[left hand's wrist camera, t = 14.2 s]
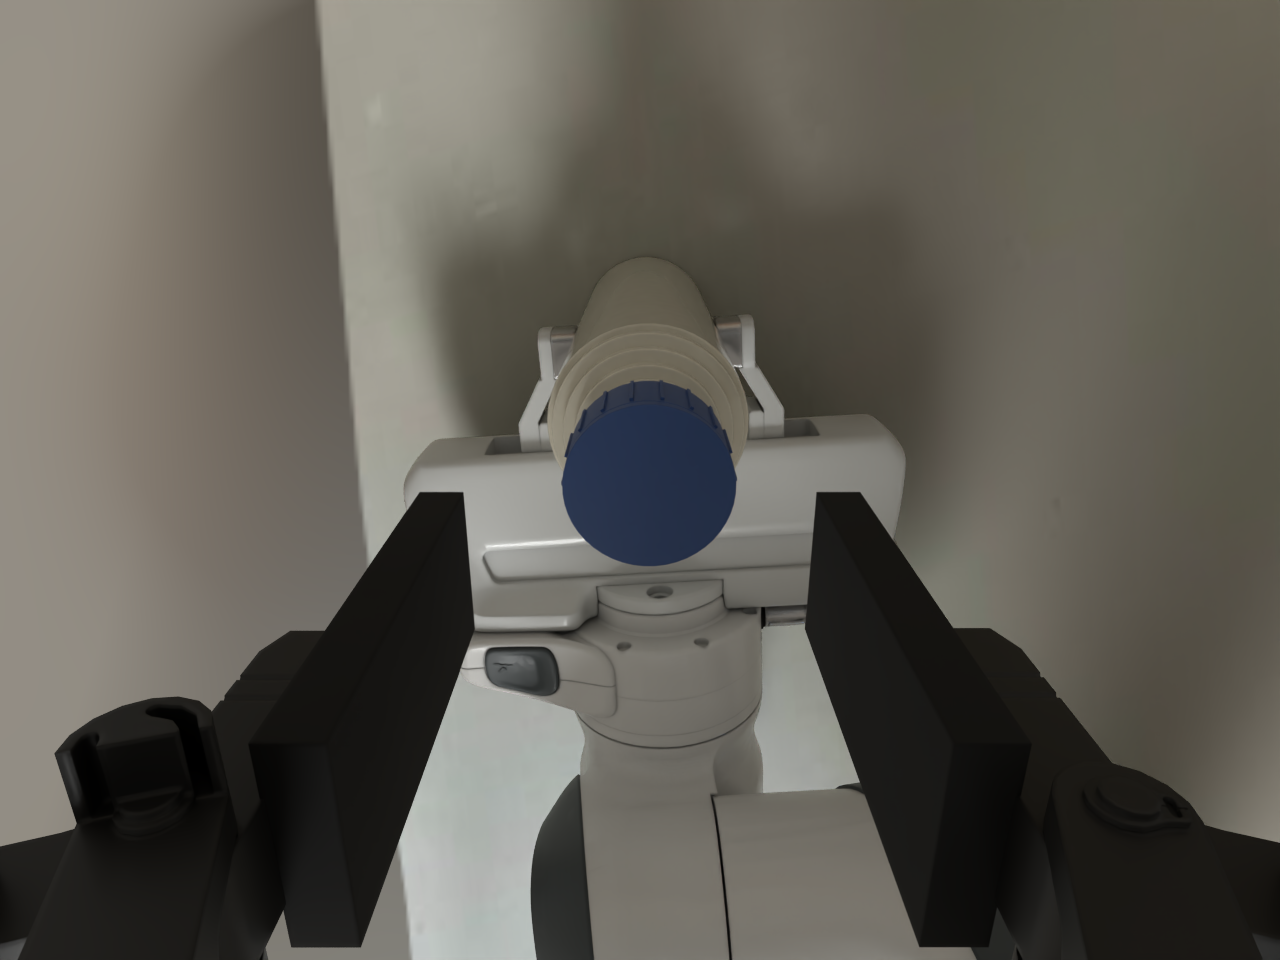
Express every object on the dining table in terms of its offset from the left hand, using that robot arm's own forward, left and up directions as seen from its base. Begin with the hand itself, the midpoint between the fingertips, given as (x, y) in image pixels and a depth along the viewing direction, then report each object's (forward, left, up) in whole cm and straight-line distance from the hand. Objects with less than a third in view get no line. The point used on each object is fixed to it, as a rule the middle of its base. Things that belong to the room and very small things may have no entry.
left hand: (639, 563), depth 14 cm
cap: (0, 0, -4) cm, 4 cm away
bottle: (0, 0, -25) cm, 25 cm away
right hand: (-1, 0, -19) cm, 19 cm away
